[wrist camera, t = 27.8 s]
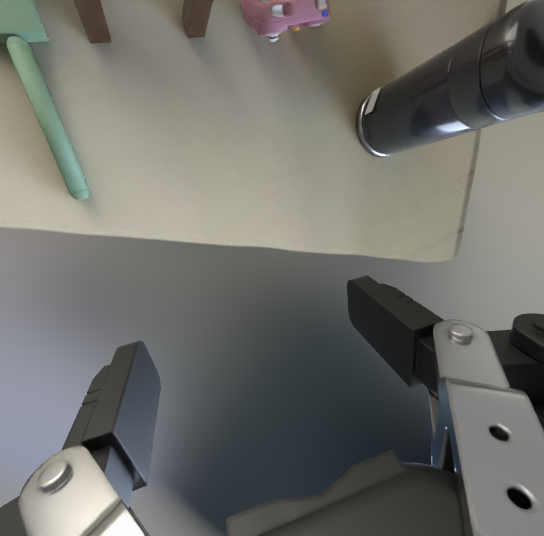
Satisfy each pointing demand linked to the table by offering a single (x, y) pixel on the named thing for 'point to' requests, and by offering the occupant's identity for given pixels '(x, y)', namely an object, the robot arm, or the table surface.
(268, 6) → the video game controller
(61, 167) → the green spatula
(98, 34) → the plant stand
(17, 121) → the table surface
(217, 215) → the table surface
